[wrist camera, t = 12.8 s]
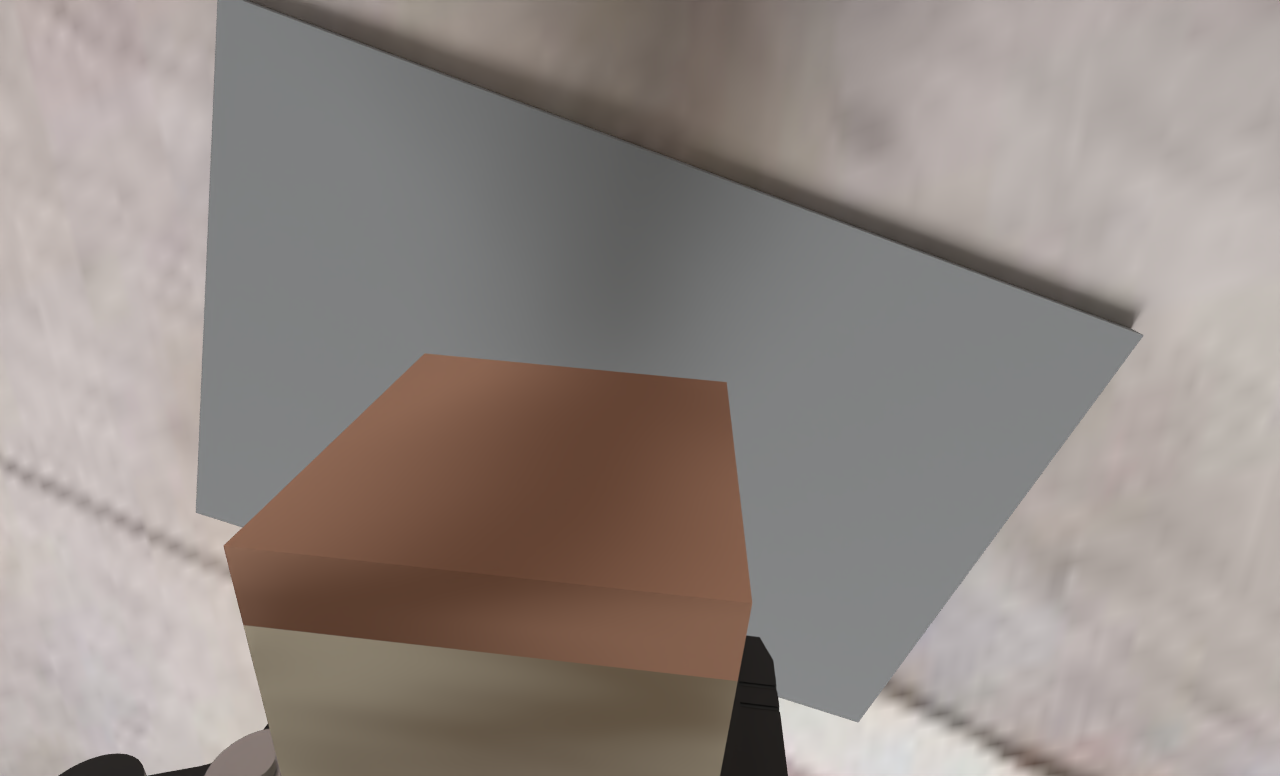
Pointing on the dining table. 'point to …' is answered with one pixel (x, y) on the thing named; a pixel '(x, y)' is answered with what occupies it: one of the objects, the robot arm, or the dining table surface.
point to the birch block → (505, 579)
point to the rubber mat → (623, 327)
